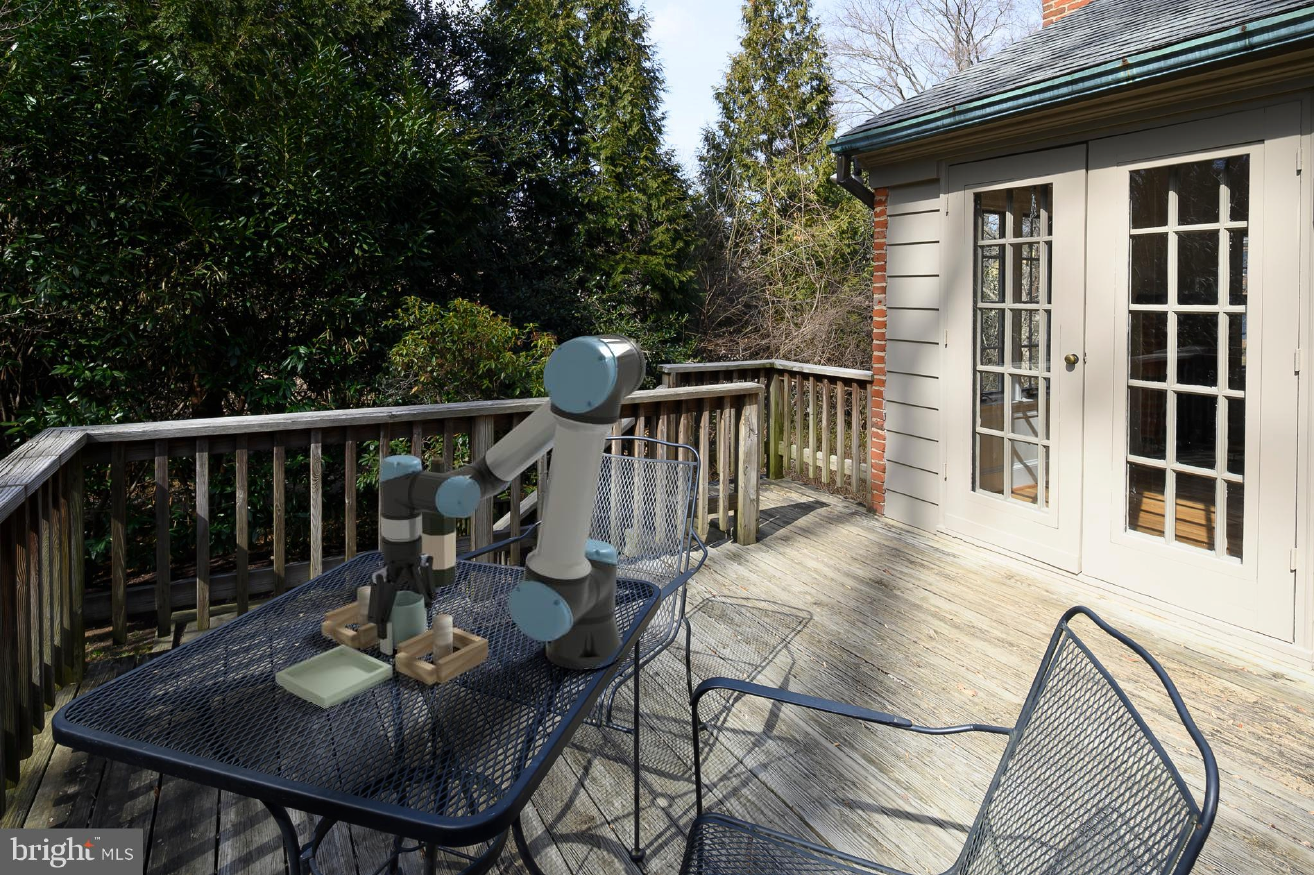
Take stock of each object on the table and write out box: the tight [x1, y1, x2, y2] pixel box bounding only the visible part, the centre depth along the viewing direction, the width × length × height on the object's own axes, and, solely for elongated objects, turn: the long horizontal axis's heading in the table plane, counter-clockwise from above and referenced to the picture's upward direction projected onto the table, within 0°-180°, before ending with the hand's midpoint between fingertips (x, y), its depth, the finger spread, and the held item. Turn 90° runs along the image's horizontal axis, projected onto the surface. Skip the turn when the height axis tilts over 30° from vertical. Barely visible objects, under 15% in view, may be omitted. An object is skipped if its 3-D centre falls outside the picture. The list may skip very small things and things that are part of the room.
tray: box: [274, 644, 393, 710], centre depth 144 cm, size 14×14×2 cm
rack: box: [321, 585, 489, 686], centre depth 157 cm, size 34×15×9 cm, turn 58°
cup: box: [382, 590, 425, 648], centre depth 157 cm, size 8×8×10 cm
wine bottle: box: [420, 457, 457, 587], centre depth 188 cm, size 8×8×30 cm
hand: (404, 644), depth 158 cm, fingers closed on cup, 8 cm apart
